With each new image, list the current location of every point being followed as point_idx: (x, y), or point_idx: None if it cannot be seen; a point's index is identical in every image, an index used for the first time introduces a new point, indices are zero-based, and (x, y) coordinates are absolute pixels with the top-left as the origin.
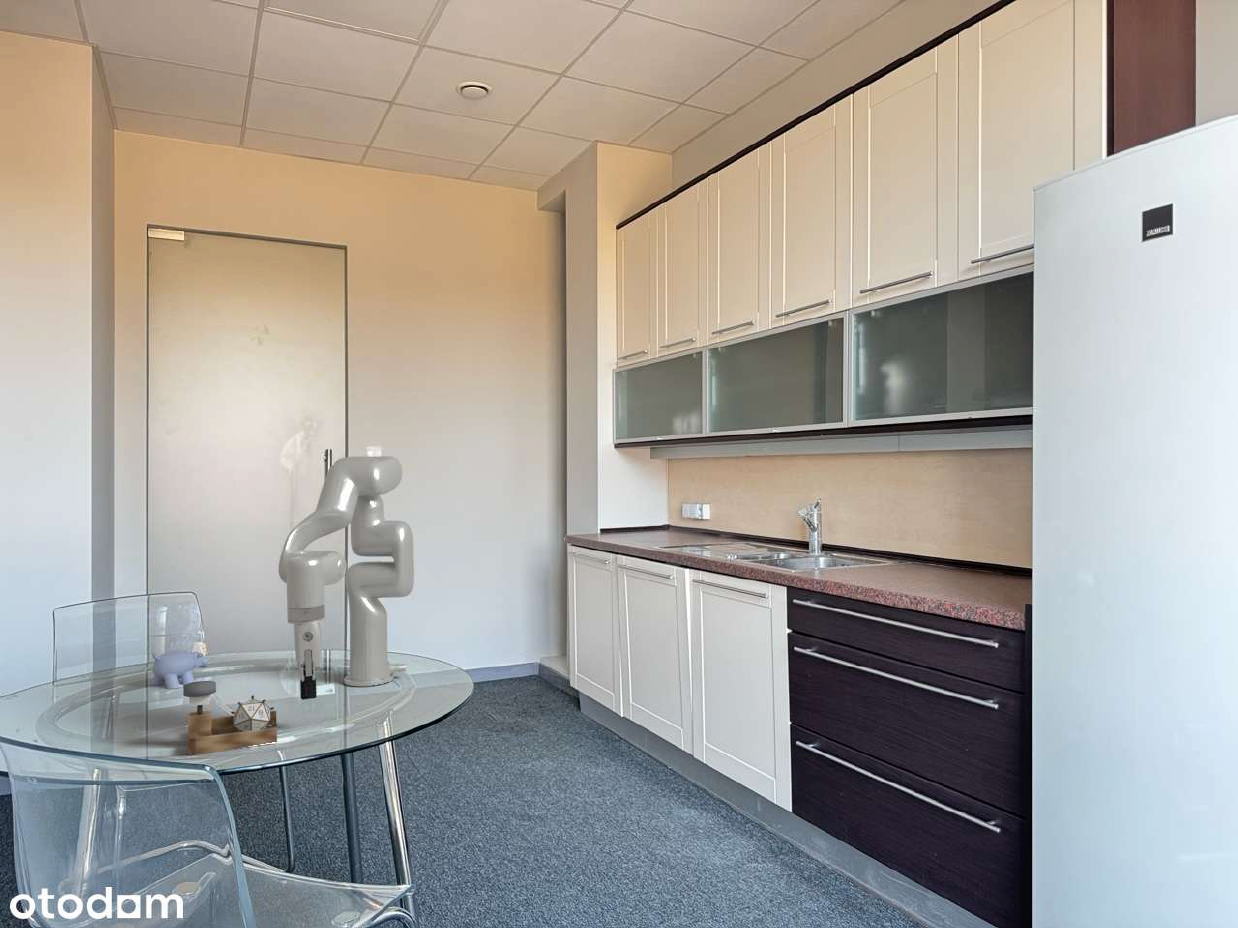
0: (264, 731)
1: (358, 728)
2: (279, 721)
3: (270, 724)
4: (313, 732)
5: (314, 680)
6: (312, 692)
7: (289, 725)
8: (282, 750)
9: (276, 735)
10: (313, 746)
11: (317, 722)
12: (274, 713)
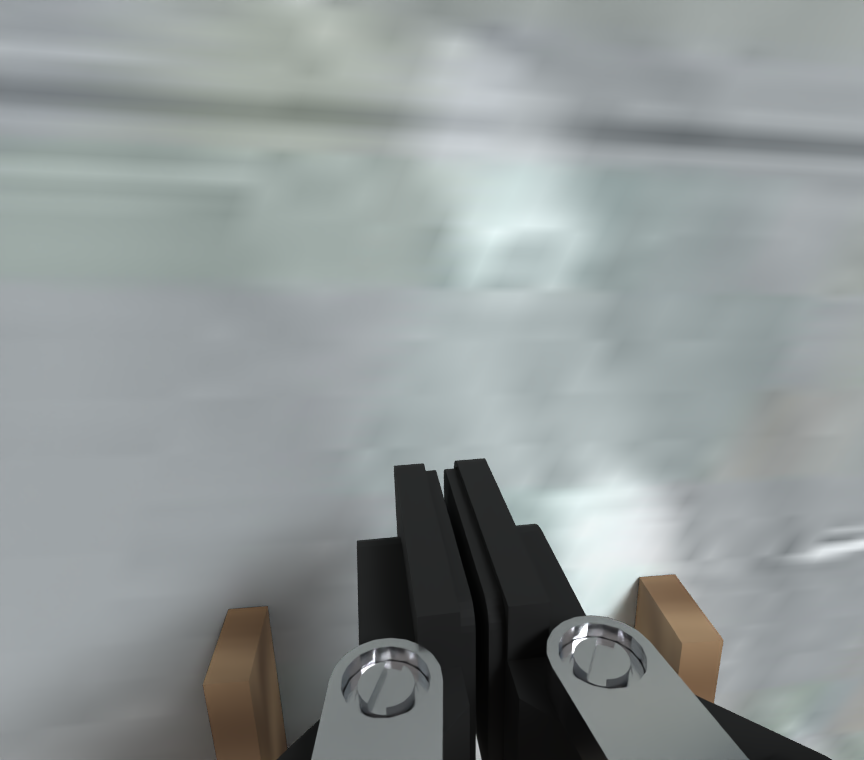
0: (711, 698)
1: (605, 11)
2: (160, 595)
3: (269, 646)
4: (540, 372)
5: (547, 615)
6: (540, 534)
7: (290, 530)
8: (819, 537)
9: (699, 610)
10: (857, 370)
11: (282, 345)
12: (253, 683)
